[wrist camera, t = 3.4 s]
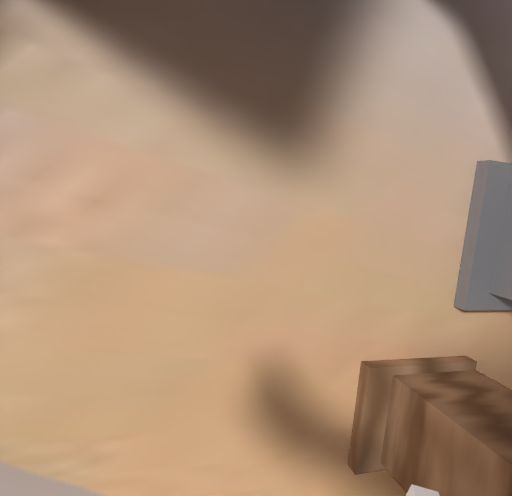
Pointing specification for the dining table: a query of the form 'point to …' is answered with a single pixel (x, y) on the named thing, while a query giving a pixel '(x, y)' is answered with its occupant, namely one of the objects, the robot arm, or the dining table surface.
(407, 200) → the dining table surface
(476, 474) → the pin stand
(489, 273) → the tray stand
